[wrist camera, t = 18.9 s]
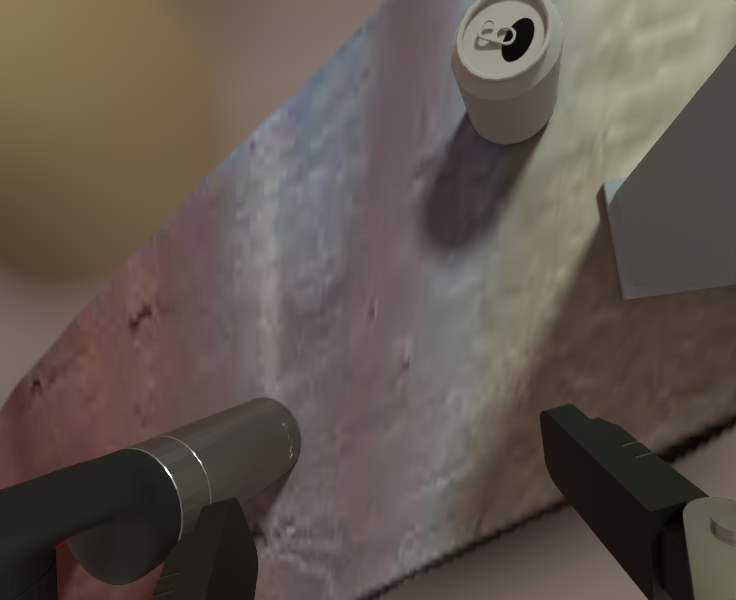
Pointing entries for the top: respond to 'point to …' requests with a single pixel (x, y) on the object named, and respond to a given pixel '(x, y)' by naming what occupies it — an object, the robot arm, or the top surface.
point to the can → (508, 66)
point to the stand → (681, 200)
